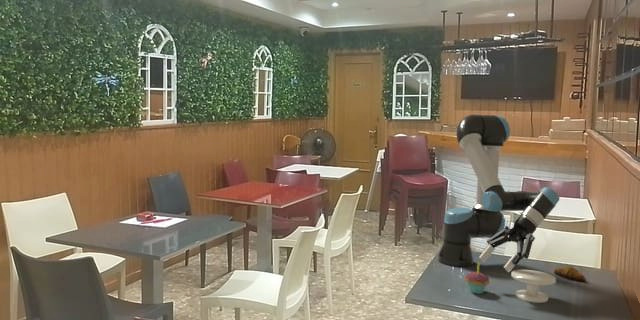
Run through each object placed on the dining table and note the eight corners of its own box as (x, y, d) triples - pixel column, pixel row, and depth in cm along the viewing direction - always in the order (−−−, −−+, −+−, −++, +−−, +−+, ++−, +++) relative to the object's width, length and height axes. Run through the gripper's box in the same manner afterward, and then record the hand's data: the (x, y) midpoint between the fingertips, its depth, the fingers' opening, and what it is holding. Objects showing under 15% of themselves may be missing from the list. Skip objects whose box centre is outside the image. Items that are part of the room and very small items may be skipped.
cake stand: (504, 298, 195) (506, 276, 195) (515, 287, 208) (517, 267, 207) (549, 308, 187) (551, 285, 186) (557, 296, 200) (559, 275, 199)
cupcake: (489, 296, 196) (491, 263, 195) (464, 293, 198) (467, 261, 197) (487, 289, 205) (489, 257, 204) (463, 286, 206) (465, 255, 205)
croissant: (590, 282, 221) (591, 269, 220) (580, 284, 217) (581, 272, 216) (559, 272, 232) (560, 261, 231) (549, 274, 228) (550, 263, 228)
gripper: (558, 236, 195) (523, 281, 190) (510, 222, 218) (477, 262, 213) (548, 222, 192) (512, 267, 188) (500, 209, 215) (466, 249, 211)
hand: (493, 264), depth 201 cm, fingers open, 13 cm apart
